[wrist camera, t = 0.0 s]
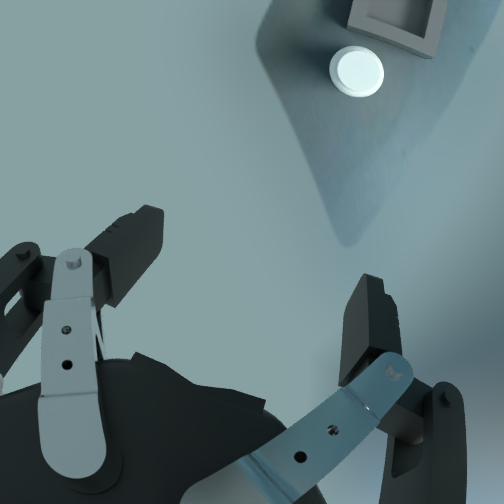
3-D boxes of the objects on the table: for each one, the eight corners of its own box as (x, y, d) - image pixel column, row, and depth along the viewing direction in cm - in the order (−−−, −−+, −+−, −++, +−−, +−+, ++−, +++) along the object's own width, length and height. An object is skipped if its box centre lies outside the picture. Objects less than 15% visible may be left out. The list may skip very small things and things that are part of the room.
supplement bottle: (334, 45, 30) (334, 36, 22) (379, 57, 29) (393, 52, 21) (326, 86, 33) (323, 91, 25) (370, 98, 32) (381, 107, 24)
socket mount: (362, -38, 22) (364, -47, 19) (441, -8, 21) (450, -14, 18) (346, 29, 28) (347, 25, 25) (426, 59, 27) (434, 58, 24)
